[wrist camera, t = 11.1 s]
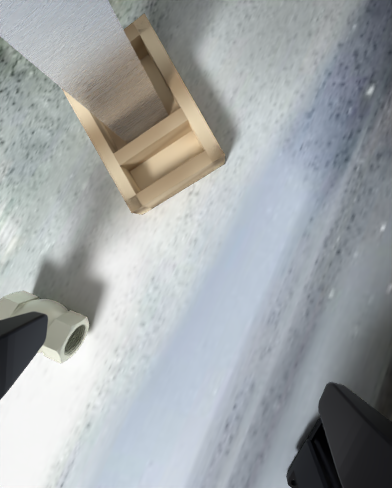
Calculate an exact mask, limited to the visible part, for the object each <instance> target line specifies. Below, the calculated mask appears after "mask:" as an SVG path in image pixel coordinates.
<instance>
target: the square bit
mask: <svg viewBox="0 0 392 488" xmlns="http://www.w3.org/2000/svg"><path fill="white" fill-rule="evenodd" d="M0 36H1V37H2V38H3V39H4V40H5V41H7V42H8V43H9V44H10V45H11V46H13V47H14V48H15V49H16V50H17V51H18V52H20V53H21V54H22V55H23V56H24V57H26V58H27V59H28V60H29V61H30V62H31V63H33V64H34V65H35V66H36V67H37V68H39V69H40V70H41V71H42V72H43V73H45V74H46V75H47V76H48V77H49V78H50V79H52V80H53V81H54V82H55V83H56V84H58V85H59V86H60V87H61V88H62V89H64V90H65V91H66V92H67V93H68V94H69V95H71V96H72V97H73V98H74V99H75V100H77V101H78V102H79V103H80V104H81V105H83V106H84V107H85V108H86V109H87V110H88V111H90V112H91V113H92V114H93V115H94V116H96V117H97V118H98V119H99V120H100V121H101V122H103V123H104V124H105V125H106V126H107V127H109V128H110V129H111V130H112V131H113V132H115V133H116V134H117V135H118V136H119V137H120V138H122V139H123V140H124V141H125V142H126V143H130V142H131V141H133V140H134V139H136V138H137V137H139V136H140V135H142V134H143V133H144V132H146V131H147V130H149V129H150V128H152V127H153V126H155V125H156V124H158V123H159V122H160V121H162V120H163V119H165V118H166V117H168V116H169V115H168V113H167V111H166V110H165V108H164V106H163V104H162V102H161V100H160V98H159V96H158V94H157V92H156V91H155V89H154V87H153V85H152V83H151V81H150V79H149V77H148V75H147V74H146V72H145V70H144V68H143V66H142V64H141V62H140V60H139V58H138V57H137V55H136V53H135V51H134V49H133V47H132V45H131V43H130V41H129V40H128V38H127V36H126V34H125V32H124V30H123V28H122V26H121V24H120V23H119V21H118V19H117V17H116V15H115V13H114V11H113V9H112V7H111V6H110V4H109V2H108V0H0Z"/></svg>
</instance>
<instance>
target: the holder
mask: <svg viewBox="0 0 392 488" xmlns="http://www.w3.org/2000/svg"><path fill="white" fill-rule="evenodd" d="M124 32H125V34H126V36H127V38H128V40H129V41H130V43H131V45H132V47H133V49H134V51H135V53H136V55H137V57H138V58H139V60H140V62H141V64H142V66H143V68H144V70H145V72H146V74H147V75H148V77H149V79H150V81H151V83H152V85H153V87H154V89H155V91H156V92H157V94H158V96H159V98H160V100H161V102H162V104H163V106H164V108H165V110H166V111H167V113H168V115H169V116H168V117H166V118H165V119H163V120H162V121H160V122H159V123H158V124H156V125H155V126H153V127H152V128H150V129H149V130H147V131H146V132H144V133H143V134H142V135H140V136H139V137H137V138H136V139H134V140H133V141H131V142H130V143H126V142H125V141H124V140H123V139H122V138H120V137H119V136H118V135H117V134H116V133H115V132H113V131H112V130H111V129H110V128H109V127H107V126H106V125H105V124H104V123H103V122H101V121H100V120H99V119H98V118H97V117H96V116H94V115H93V114H92V113H91V112H90V111H88V110H87V109H86V108H85V107H84V106H83V105H81V104H80V103H79V102H78V101H77V100H75V99H74V98H73V97H72V96H71V95H69V94H68V93H67V92H66V91H65V90H64V89H62V90H63V92H64V93H65V95H66V97H67V99H68V100H69V102H70V104H71V106H72V108H73V109H74V111H75V113H76V115H77V116H78V118H79V120H80V122H81V124H82V125H83V127H84V129H85V131H86V133H87V134H88V136H89V138H90V140H91V141H92V143H93V145H94V147H95V149H96V150H97V152H98V154H99V156H100V157H101V159H102V161H103V163H104V165H105V166H106V168H107V170H108V172H109V173H110V175H111V177H112V179H113V181H114V182H115V184H116V186H117V188H118V190H119V191H120V193H121V195H122V197H123V198H124V200H125V202H126V204H127V206H128V207H129V209H130V211H131V213H136V214H142V215H143V214H144V213H146V212H148V211H149V210H151V209H152V208H154V207H156V206H157V205H159V204H161V203H162V202H164V201H165V200H167V199H169V198H170V197H172V196H174V195H175V194H177V193H178V192H180V191H182V190H183V189H185V188H186V187H188V186H190V185H191V184H193V183H195V182H196V181H198V180H199V179H201V178H203V177H204V176H206V175H208V174H209V173H211V172H212V171H214V170H216V169H217V168H219V167H221V166H222V165H224V164H225V154H224V153H223V151H222V149H221V147H220V145H219V144H218V142H217V140H216V138H215V137H214V135H213V133H212V131H211V130H210V128H209V126H208V124H207V123H206V121H205V119H204V117H203V116H202V114H201V112H200V110H199V109H198V107H197V105H196V103H195V101H194V100H193V98H192V96H191V94H190V93H189V91H188V89H187V87H186V86H185V84H184V82H183V80H182V79H181V77H180V75H179V73H178V72H177V70H176V68H175V66H174V64H173V63H172V61H171V59H170V57H169V56H168V54H167V52H166V50H165V49H164V47H163V45H162V43H161V42H160V40H159V38H158V36H157V35H156V33H155V31H154V29H153V28H152V26H151V24H150V22H149V20H148V19H147V17H146V15H145V13H144V14H143V15H142V16H140V17H139V18H138V19H137V20H135V21H134V22H133V23H131V24H130V25H129V26H128V27H126V28H125V29H124Z"/></svg>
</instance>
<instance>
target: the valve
mask: <svg viewBox="0 0 392 488" xmlns="http://www.w3.org/2000/svg"><path fill="white" fill-rule="evenodd" d="M32 311H36V312H40V313H44V314H46V315H47V316H48V326H47V336H46V340H45V342H44V344H43V346H42V347H41V348H40V350H39V351H38V352H37V353H41V352H43V354H44V356H45V357H47V358H49V359H52V360H54V361H56V362H58V363H63V362H65V361H66V360H68V359H69V358H71V357H72V356H73V355H74V354H75V353H76V352H77V350H78V349H79V348H80V346H81V345H82V343H83V341H84V339H85V337H86V335H87V332H88V329H89V322H88V318H87V316H84V315H82V314H79V313H77V312H75V311H72V310H71V311H68V310H67V309H66V308H65V307H64V306H63V305H62V304H60V303H58V302H56V301H54V300H49V299H39V297H38V296H36V295H33V294H31V293H28V292H26V291H20V292H15V293H12V294H9V295H6V296H4V297H3V298H1V299H0V320H2V319H6V318H10V317H14V316H17V315H21V314H25V313H28V312H32Z"/></svg>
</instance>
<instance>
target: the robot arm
mask: <svg viewBox="0 0 392 488" xmlns="http://www.w3.org/2000/svg"><path fill="white" fill-rule="evenodd" d="M47 326H48V316H47V315H46V314H44V313H40V312H36V311H32V312H28V313H25V314H21V315H17V316H14V317H10V318H6V319H2V320H0V400H1V398H2V397H3V396H4V395H5V394H6V393H7V391H8V390H9V389H10V388H11V386H12V385H13V384H14V382H15V381H16V380H17V378H18V377H19V376H20V375H21V373H22V372H23V371H24V369H25V368H26V367H27V365H28V364H29V363H30V361H31V360H32V359H33V357H34V356H35V355H36V354H37V352H38V351H39V350H40V348H41V347H42V346H43V344H44V342H45V340H46V336H47ZM319 413H320V416H321V418H320V419H319V420H318V422H317V423H316V425H315V427H314V428H313V430H312V432H311V434H310V435H309V437H308V439H307V440H306V441H305V443H304V444H303V446H302V448H301V450H300V451H299V453H298V455H297V456H296V458H295V460H294V462H293V464H292V466H291V468H290V470H289V471H288V473H287V476H286V477H287V482H288V485H289V486H290V487H291V488H392V423H391V422H390V421H389V420H388V419H386V418H385V417H384V416H383V415H381V414H380V413H379V412H377V411H376V410H375V409H374V408H372V407H371V406H370V405H368V404H367V403H366V402H365V401H363V400H362V399H361V398H359V397H358V396H357V395H356V394H354V393H353V392H352V391H351V390H349V389H348V388H347V387H345V386H344V385H342V384H337V383H333V382H329V383H328V384H327V385H326V387H325V389H324V392H323V394H322V396H321V398H320V401H319Z"/></svg>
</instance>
